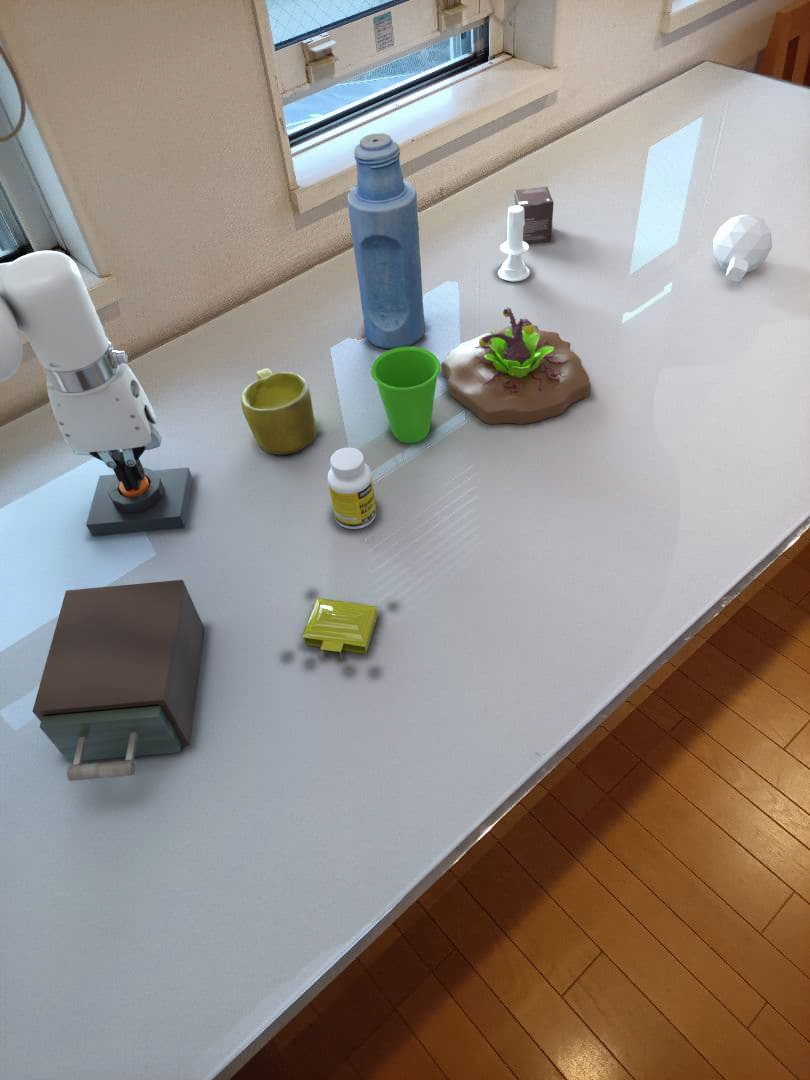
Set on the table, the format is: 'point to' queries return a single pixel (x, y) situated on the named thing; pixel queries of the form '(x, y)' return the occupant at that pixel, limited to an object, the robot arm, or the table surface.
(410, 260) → the bottle
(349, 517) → the supplement bottle
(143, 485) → the button
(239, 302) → the table surface
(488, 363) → the plant
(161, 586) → the cabinet
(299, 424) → the mug
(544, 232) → the box
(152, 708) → the drawer
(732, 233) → the white faceted rounded piece
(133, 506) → the control block
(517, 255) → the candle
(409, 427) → the cup
